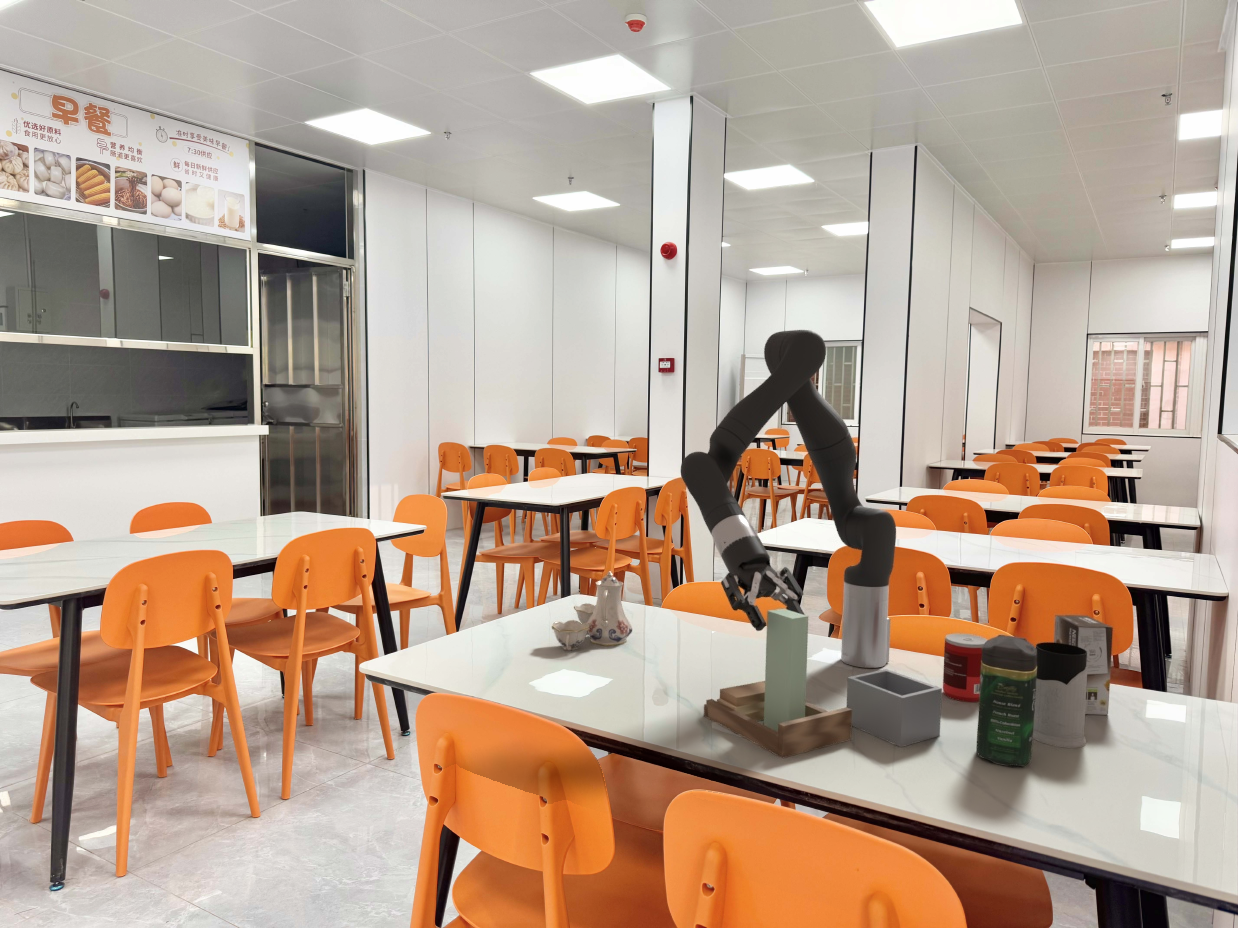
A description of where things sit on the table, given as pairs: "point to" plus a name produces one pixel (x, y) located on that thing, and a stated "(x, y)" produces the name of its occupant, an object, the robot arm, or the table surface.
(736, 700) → the offcut stack
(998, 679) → the coffee jar
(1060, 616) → the coffee box
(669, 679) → the table surface
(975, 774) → the table surface
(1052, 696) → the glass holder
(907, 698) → the grey holder
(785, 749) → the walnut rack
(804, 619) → the tall mint green block
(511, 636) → the table surface
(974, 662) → the canned food
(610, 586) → the chinaware
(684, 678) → the table surface
